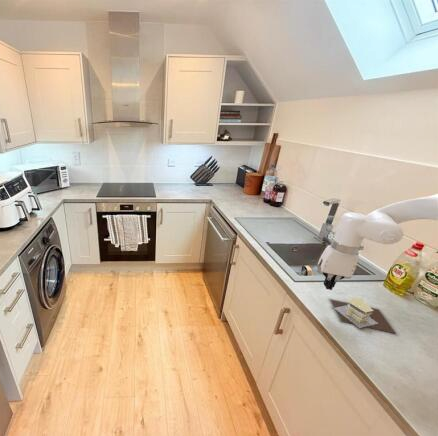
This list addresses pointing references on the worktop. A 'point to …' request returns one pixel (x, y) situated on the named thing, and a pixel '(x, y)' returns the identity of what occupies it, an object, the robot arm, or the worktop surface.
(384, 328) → the spill
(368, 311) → the stacked layers on plate
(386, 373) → the worktop surface
